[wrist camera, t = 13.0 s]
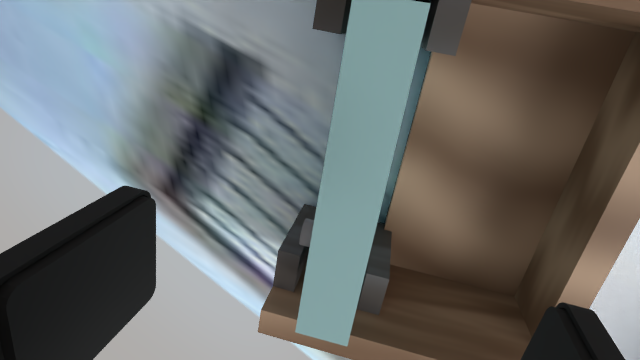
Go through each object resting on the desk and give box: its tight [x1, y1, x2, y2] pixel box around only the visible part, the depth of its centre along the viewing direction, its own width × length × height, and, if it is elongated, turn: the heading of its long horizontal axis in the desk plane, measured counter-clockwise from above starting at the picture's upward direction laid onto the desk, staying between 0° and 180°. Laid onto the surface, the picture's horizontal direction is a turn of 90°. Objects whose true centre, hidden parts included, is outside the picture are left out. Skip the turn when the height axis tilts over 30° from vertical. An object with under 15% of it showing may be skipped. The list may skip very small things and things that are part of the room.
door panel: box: [295, 0, 431, 346], centre depth 19 cm, size 14×3×10 cm, turn 171°
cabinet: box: [258, 0, 640, 360], centre depth 20 cm, size 19×16×8 cm
